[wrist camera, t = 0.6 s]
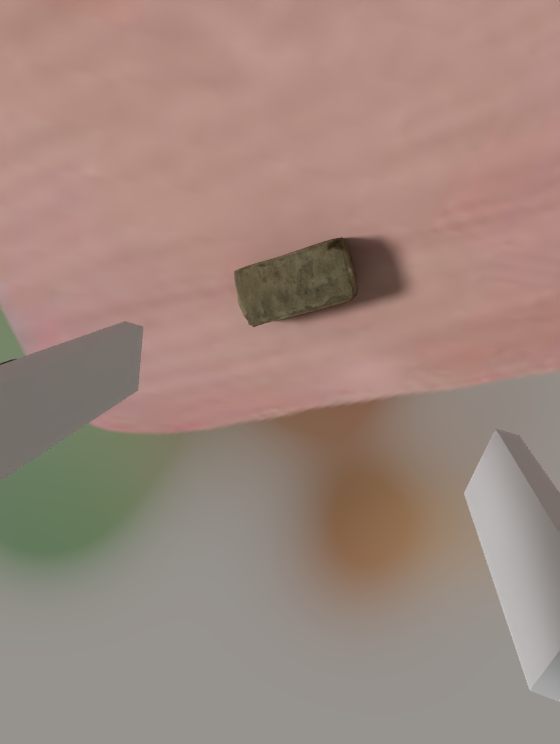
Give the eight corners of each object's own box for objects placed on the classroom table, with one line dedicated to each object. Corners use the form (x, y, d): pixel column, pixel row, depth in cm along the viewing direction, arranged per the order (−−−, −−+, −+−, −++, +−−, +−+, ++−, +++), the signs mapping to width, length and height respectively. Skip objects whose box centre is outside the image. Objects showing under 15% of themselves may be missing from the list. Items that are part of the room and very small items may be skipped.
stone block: (362, 291, 39) (359, 299, 34) (258, 321, 42) (243, 332, 38) (347, 232, 37) (342, 233, 33) (240, 269, 41) (222, 274, 36)
